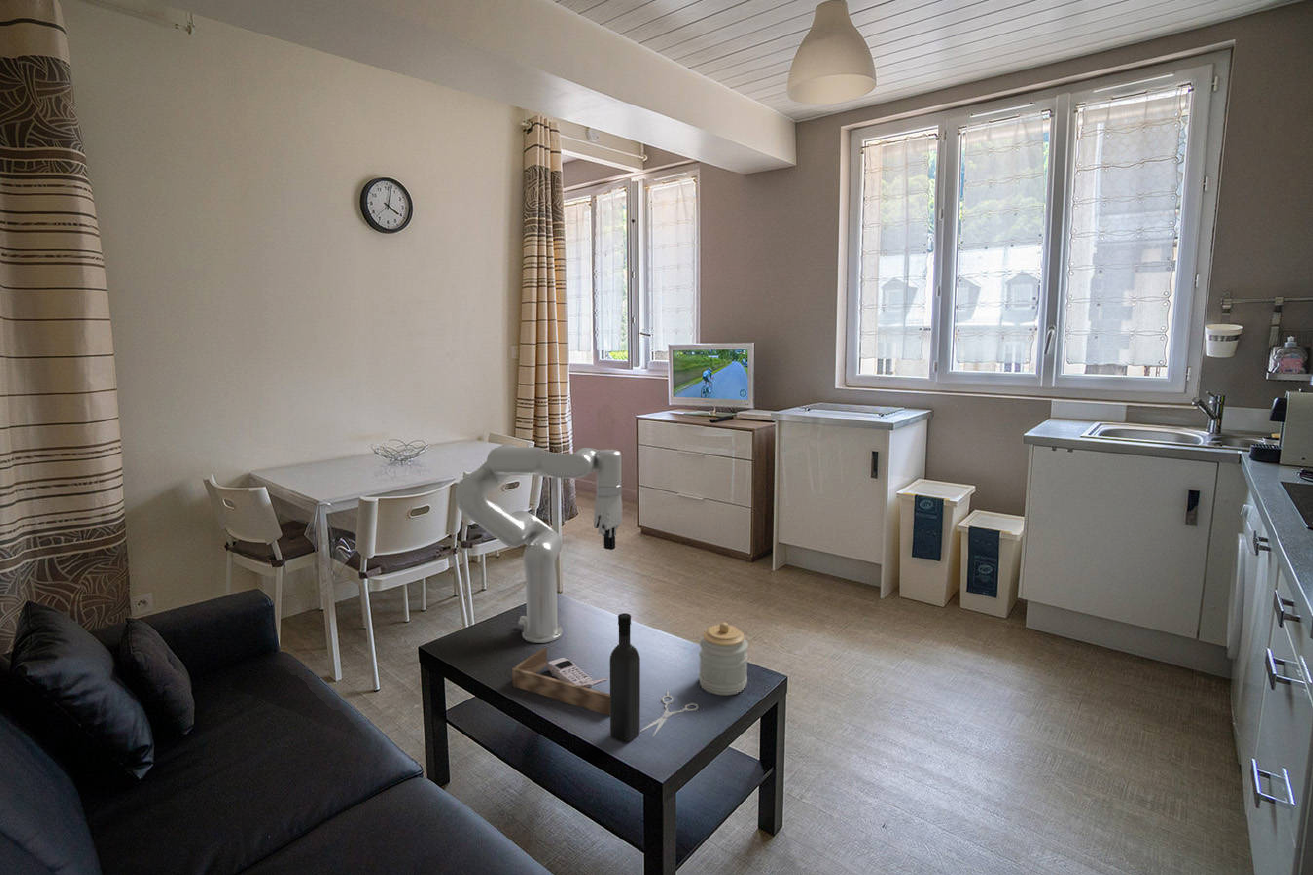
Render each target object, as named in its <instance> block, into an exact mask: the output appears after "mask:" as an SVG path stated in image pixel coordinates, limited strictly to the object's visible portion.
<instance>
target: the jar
mask: <svg viewBox="0 0 1313 875" xmlns="http://www.w3.org/2000/svg"><path fill="white" fill-rule="evenodd" d="M745 637H746V636H745V634H744V632H743V631H742V630H740V629H739V628H737V627H735V626H734V625H733V626H732V625H729V624H728V623H727V622H721V623H720V624H716V625H713V626H710V627H709V628H707V629H705V630H704V632H703V633H702V638H701V639H700V641H699V645H700V648H701V650H700V651H699V674H698V675H699V677H698V679H699V684H700V686H701V688H702V689H703V690H705V691H706V692H708V693H710V694H713V695H715V696H734V695H737V694H740V693H741V692H743V691H744V690H745V689H746V687H747V683H748V682H747V681H748V676H747V665H748V664H747V662H748V654H747V649H748V647H749V645H748V642H747V640H746V638H745ZM745 686H746V687H745ZM744 688H745V689H744ZM742 690H743V691H742ZM739 692H740V693H739Z"/></svg>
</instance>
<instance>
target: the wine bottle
mask: <svg viewBox="0 0 1313 875" xmlns="http://www.w3.org/2000/svg"><path fill="white" fill-rule="evenodd" d="M617 620H618V621H617V622H618V623H617V625H618V644H617V645H616V646H615V647H614V649H613V650H611V653H610V656H609V694H610V715H609V736H610V738H612V739H615V740H617V741H619V742H622V743H623V744H624V743H625V744H628V743H630V742H631V741H633V739H635V738H636V737H637V736H639V734H640V733H641V732H640V731H641V730H640V717H641V716H640V714H641V713H640V708H641V707H640V699H641V698H640V691H641V690H640V688H641V684H640V680H641V679H640V678H641V674H640V673H641V672H640V671H641V670H640V669H641V668H640V666H641V665H640V664H641V662H640V660H641V659H640V654H639V651H638V649H637V648H636V647H635V646H634V645H632V643H631V631H632V630H631V625H632V615H631V614H630V613H620V614H619V615H617Z"/></svg>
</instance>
